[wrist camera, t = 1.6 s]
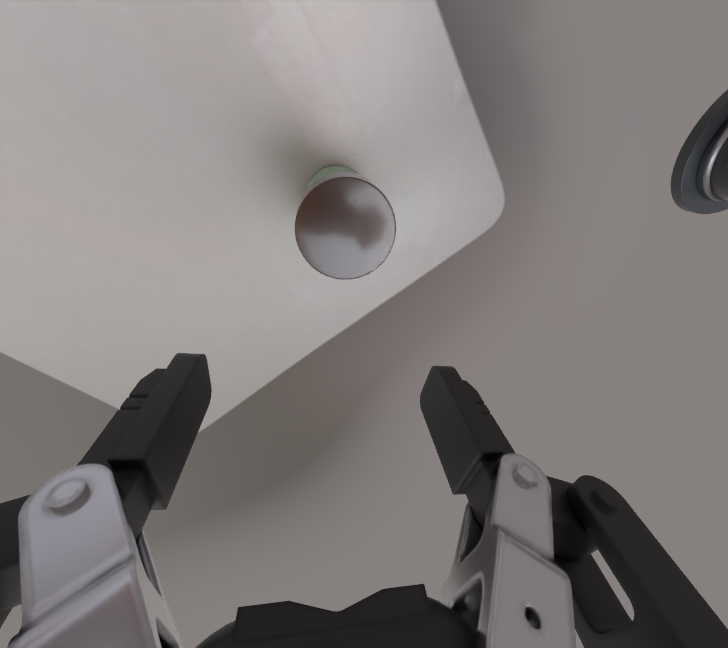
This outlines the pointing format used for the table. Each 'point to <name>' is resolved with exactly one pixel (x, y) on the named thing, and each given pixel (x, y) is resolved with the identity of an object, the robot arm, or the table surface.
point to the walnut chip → (344, 226)
